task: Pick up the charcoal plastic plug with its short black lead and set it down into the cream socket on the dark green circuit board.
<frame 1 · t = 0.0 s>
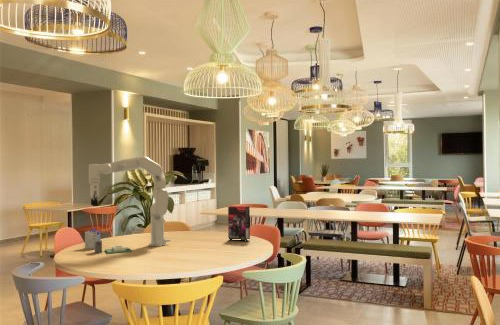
hand: (94, 205, 317), 31 cm above the table, tool pointing down, fingers open, 9 cm apart
graphics card box: (239, 240, 356), on the table
circuit board: (118, 251, 310), on the table
ink cartridge box: (92, 248, 323), on the table
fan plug: (98, 252, 306), on the table
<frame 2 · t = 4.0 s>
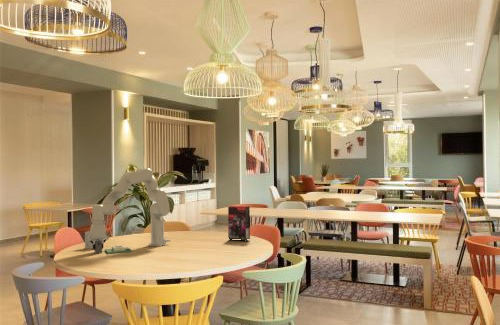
hand: (98, 249, 306), 2 cm above the table, tool pointing down, fingers closed on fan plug, 4 cm apart
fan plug: (98, 252, 306), on the table, touching gripper
everything else where it was.
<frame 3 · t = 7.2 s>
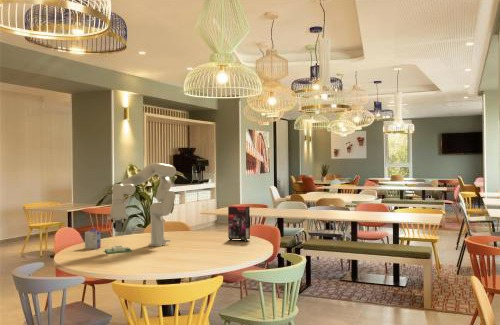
hand: (118, 228, 310), 16 cm above the table, tool pointing down, fingers closed on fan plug, 4 cm apart
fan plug: (118, 231, 310), point 14 cm above the table, touching gripper
everything else where it was.
when the fingers open (4 cm above the table, at t = 10.9 s): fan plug stays where it is, resting on circuit board.
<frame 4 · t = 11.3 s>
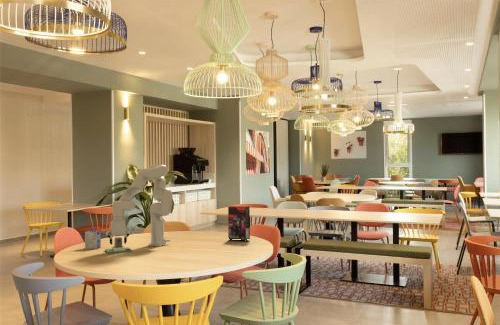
hand: (118, 243, 310), 5 cm above the table, tool pointing down, fingers open, 8 cm apart
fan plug: (118, 249, 310), point 1 cm above the table, touching circuit board
everything else where it was.
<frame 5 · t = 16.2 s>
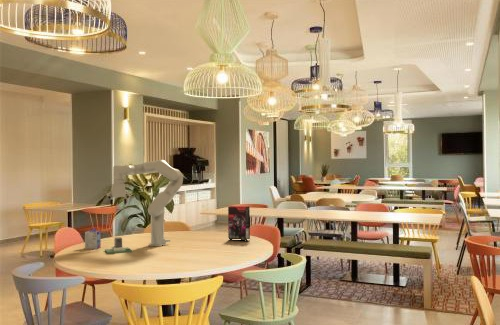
hand: (118, 204, 338), 30 cm above the table, tool pointing down, fingers open, 9 cm apart
nothing on the table moved.
at the end: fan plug 0.0 cm off-centre on the circuit board, point 1.2 cm above the circuit board's base; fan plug tilted 0°; the gripper is holding nothing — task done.
